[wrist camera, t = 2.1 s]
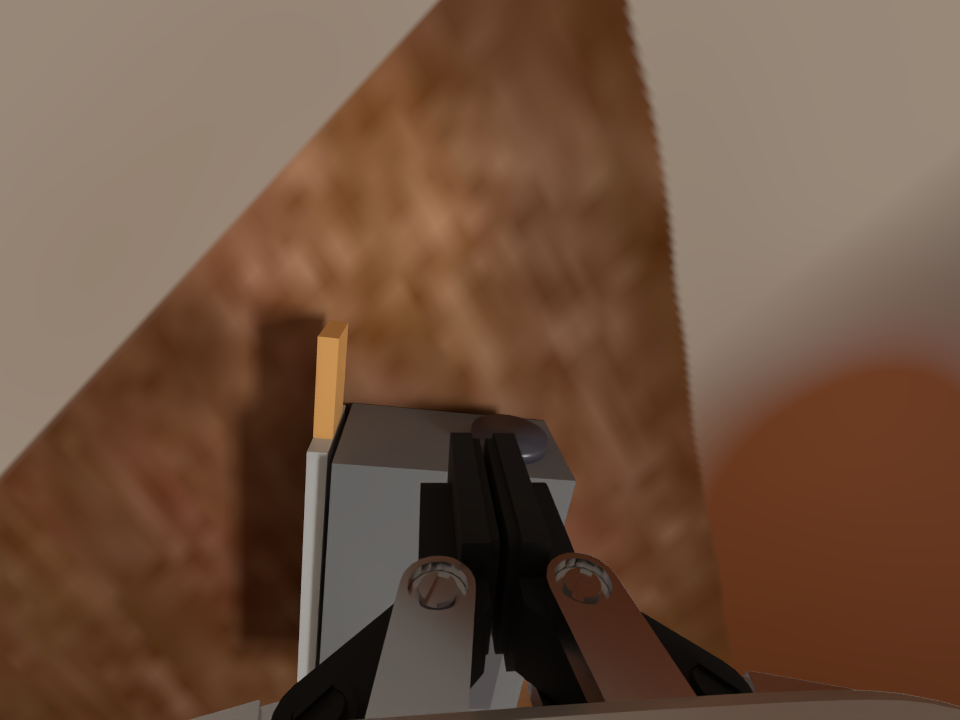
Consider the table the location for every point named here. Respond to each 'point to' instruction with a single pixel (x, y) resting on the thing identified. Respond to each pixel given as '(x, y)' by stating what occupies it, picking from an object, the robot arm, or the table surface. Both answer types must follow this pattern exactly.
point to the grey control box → (410, 515)
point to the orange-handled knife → (320, 487)
